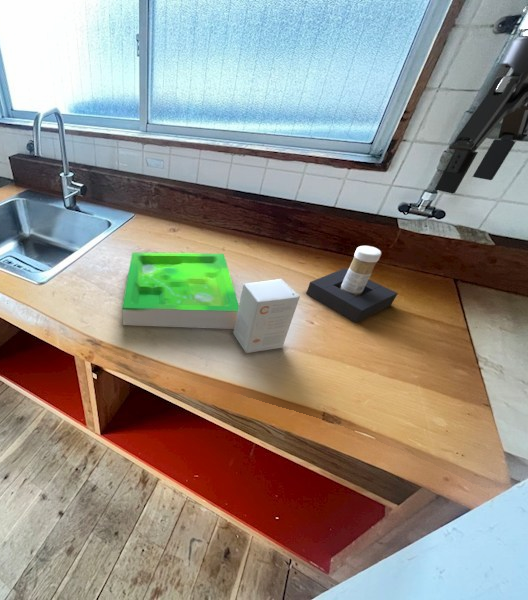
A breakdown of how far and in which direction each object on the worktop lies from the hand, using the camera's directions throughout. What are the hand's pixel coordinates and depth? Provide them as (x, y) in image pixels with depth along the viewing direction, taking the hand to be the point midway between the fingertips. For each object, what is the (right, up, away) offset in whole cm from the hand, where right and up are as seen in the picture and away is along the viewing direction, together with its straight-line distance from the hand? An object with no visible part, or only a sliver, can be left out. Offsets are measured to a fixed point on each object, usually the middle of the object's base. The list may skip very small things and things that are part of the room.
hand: (464, 184), depth 58 cm
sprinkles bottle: (-9, -21, +19) cm, 30 cm away
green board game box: (-49, -20, +23) cm, 57 cm away
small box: (-34, -30, +9) cm, 46 cm away
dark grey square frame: (-8, -21, +19) cm, 29 cm away
